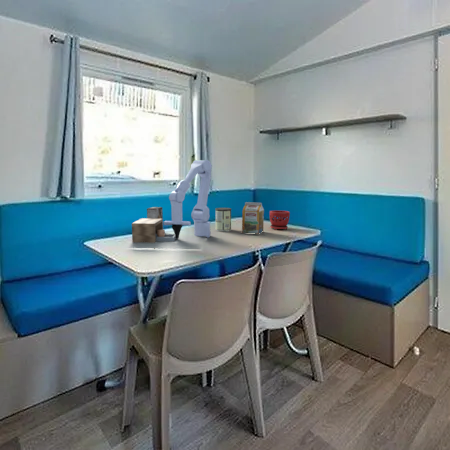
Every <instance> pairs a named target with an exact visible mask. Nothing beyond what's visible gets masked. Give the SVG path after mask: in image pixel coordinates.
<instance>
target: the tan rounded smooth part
mask: <svg viewBox="0 0 450 450" xmlns="http://www.w3.org/2000/svg"><path fill="white" fill-rule="evenodd" d="M165 232H166V231H165V229H164V228H163V229H160V230H157V237H165V234H166V233H165Z"/></svg>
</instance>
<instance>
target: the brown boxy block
mask: <svg viewBox="0 0 450 450" xmlns="http://www.w3.org/2000/svg"><path fill="white" fill-rule="evenodd" d="M163 220H164V218H163V219H154V218H147V217H146V218H145V217H144V218H143V217H142V218H139V219H138V220H135V221H134V222H132V223H131V235H132V238H131V239H132V240H131V242H132V243H151V244H152V243H154V244H155V243H157V241H156V234H157V230H160V229H163V230H164V221H163Z"/></svg>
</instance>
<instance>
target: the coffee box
mask: <svg viewBox="0 0 450 450" xmlns="http://www.w3.org/2000/svg"><path fill="white" fill-rule="evenodd" d="M146 218H154V219H163V220H164V217H163V207H161V206H159V207H158V206H152V207H148V208H146Z"/></svg>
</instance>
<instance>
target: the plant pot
mask: <svg viewBox="0 0 450 450" xmlns="http://www.w3.org/2000/svg"><path fill="white" fill-rule="evenodd" d="M290 214H291V212H290V211H288V210H269V221H270V222H269V223H270V224H271V225H270V228H271V229H272V228H274V229H273V230H276V229H285V230H287V229H288V228H289V227H288V224H289V221H290V216H291V215H290Z"/></svg>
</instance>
